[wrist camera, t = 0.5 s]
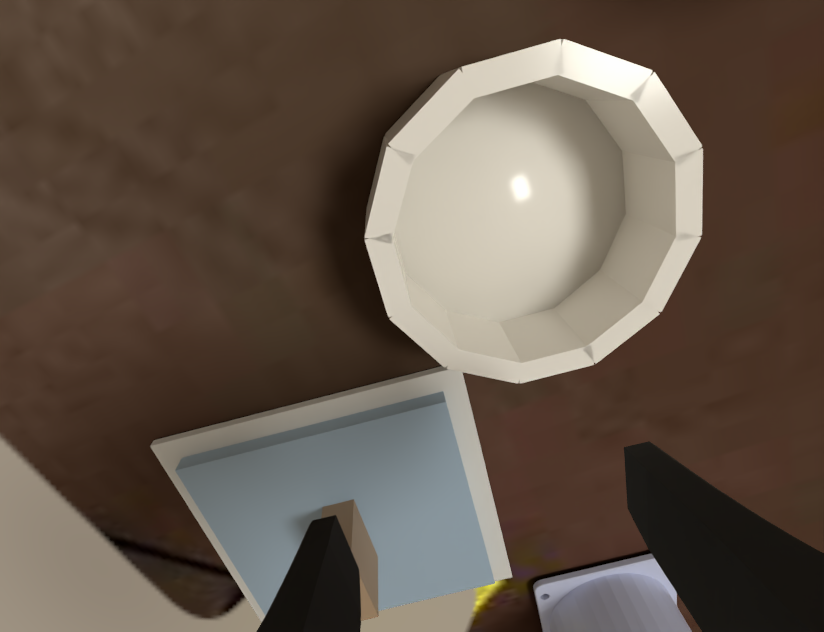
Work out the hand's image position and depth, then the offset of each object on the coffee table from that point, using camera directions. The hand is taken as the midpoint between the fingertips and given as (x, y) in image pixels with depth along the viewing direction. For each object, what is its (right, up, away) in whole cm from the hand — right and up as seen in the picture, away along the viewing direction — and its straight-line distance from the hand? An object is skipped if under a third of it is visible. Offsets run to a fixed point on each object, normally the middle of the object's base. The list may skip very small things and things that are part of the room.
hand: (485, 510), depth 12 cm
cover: (-5, -5, +12) cm, 14 cm away
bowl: (+2, +9, +6) cm, 11 cm away
